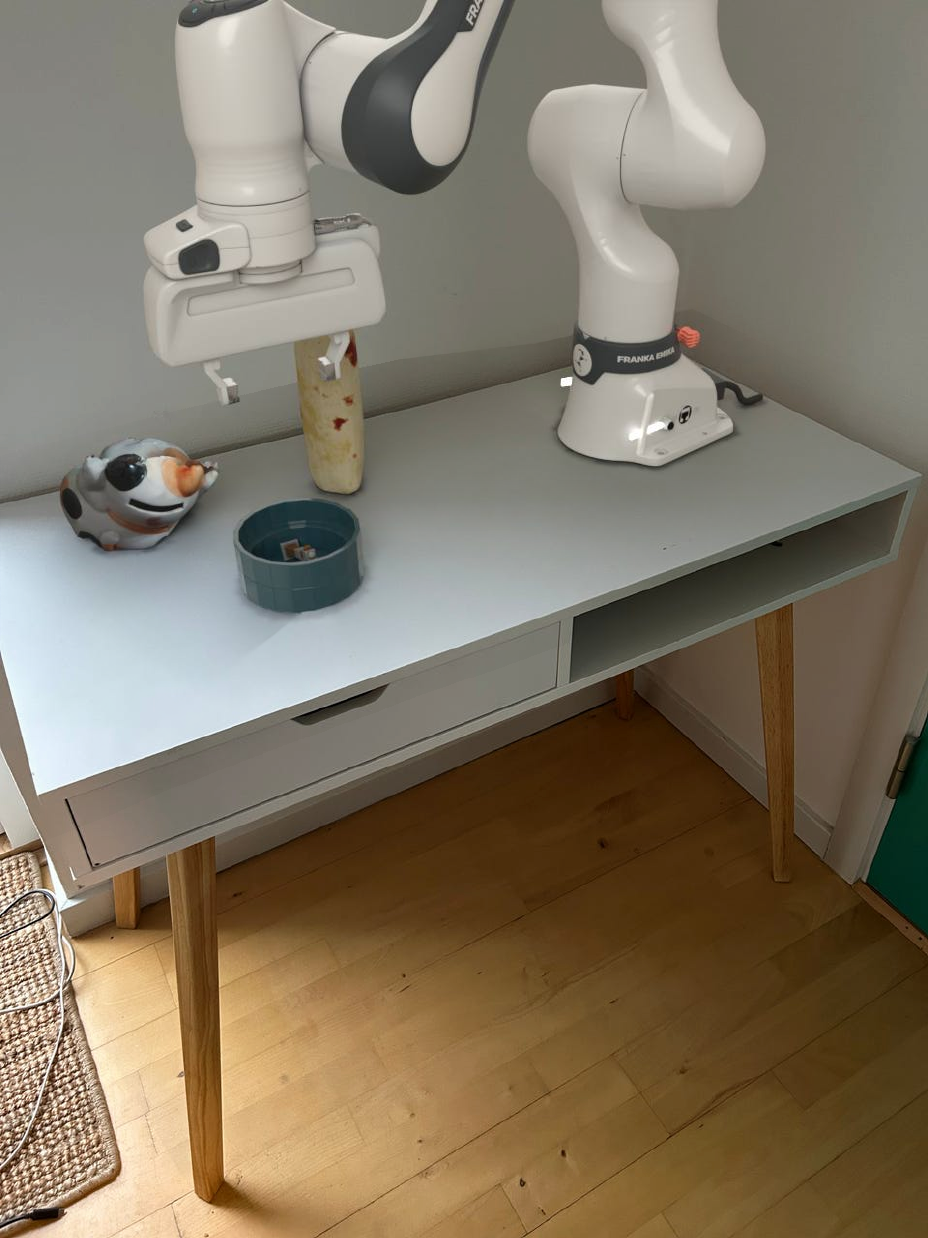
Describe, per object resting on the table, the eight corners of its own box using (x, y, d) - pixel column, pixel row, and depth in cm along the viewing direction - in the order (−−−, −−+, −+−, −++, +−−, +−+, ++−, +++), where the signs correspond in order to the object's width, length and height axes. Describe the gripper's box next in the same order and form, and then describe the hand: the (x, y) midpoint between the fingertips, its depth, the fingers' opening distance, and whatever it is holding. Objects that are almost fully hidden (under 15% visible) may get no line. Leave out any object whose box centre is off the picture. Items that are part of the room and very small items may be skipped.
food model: (380, 494, 113) (369, 324, 101) (324, 506, 111) (306, 334, 99) (352, 457, 120) (339, 294, 108) (299, 468, 118) (279, 303, 106)
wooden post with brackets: (313, 594, 95) (301, 549, 94) (290, 583, 102) (279, 541, 101) (330, 589, 96) (319, 544, 95) (306, 578, 103) (296, 537, 102)
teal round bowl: (336, 536, 106) (331, 487, 102) (383, 594, 98) (380, 543, 94) (226, 566, 101) (217, 516, 98) (265, 630, 93) (257, 578, 89)
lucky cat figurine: (192, 482, 115) (217, 399, 105) (206, 566, 110) (234, 488, 99) (54, 474, 108) (66, 384, 98) (61, 564, 103) (75, 479, 92)
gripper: (361, 200, 85) (373, 353, 93) (122, 238, 77) (158, 401, 86) (393, 218, 80) (402, 378, 89) (142, 261, 73) (178, 430, 81)
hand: (280, 390), depth 87 cm, fingers open, 8 cm apart
